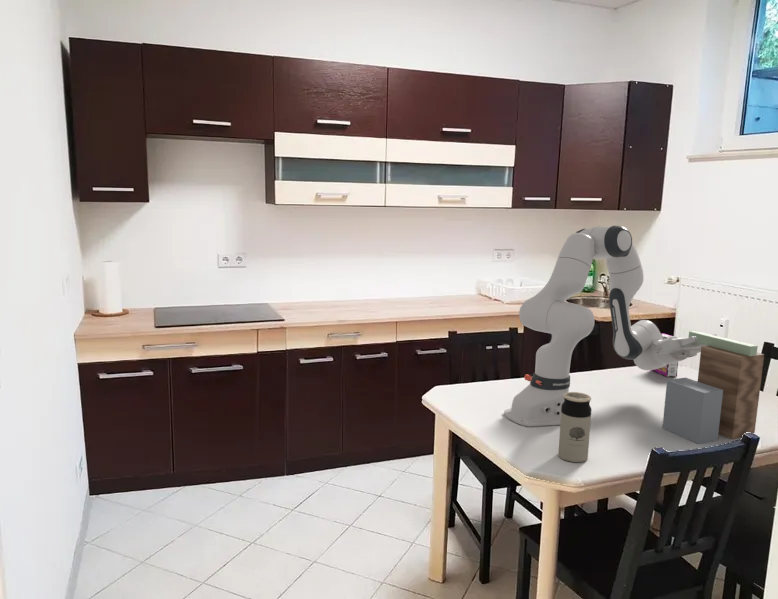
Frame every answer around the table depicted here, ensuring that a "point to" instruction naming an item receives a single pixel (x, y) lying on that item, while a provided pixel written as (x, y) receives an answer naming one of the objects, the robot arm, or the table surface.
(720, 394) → the grey pedestal
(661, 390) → the table surface
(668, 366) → the candy bar box
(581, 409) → the travel mug
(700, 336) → the rail
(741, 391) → the walnut stand
